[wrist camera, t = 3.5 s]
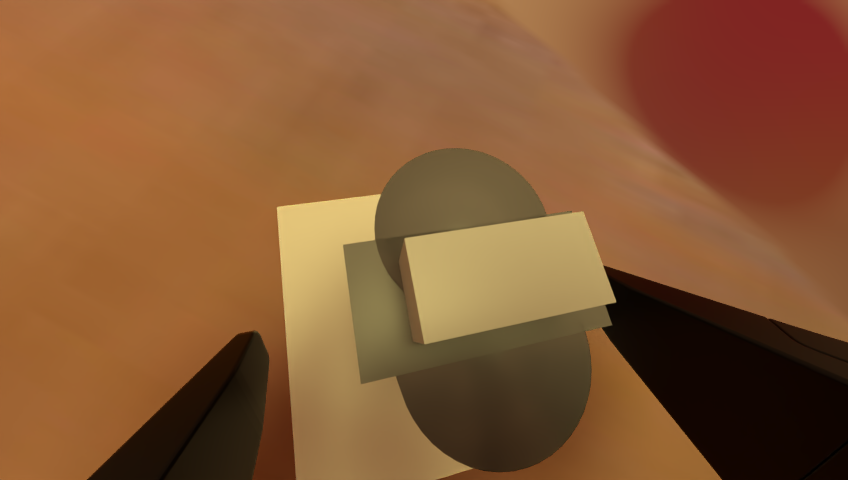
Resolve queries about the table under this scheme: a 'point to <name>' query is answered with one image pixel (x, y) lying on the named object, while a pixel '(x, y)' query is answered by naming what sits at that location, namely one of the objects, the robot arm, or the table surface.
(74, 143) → the table surface
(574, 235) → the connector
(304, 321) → the mat
